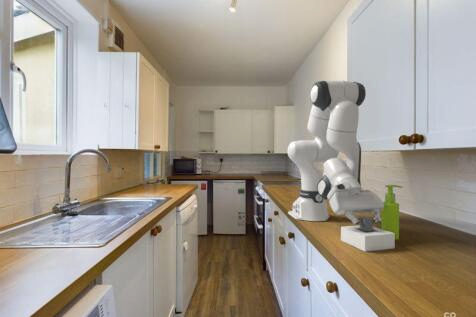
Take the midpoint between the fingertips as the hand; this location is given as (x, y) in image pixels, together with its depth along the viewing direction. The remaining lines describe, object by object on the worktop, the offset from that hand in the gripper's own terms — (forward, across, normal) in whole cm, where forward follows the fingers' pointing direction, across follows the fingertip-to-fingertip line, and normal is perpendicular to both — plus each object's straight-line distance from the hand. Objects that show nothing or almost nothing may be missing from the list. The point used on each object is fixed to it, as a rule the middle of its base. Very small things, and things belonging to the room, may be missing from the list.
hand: (368, 222), depth 93 cm
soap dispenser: (+2, -15, -9) cm, 18 cm away
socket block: (+5, 0, -6) cm, 8 cm away
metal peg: (+5, 0, -6) cm, 8 cm away
